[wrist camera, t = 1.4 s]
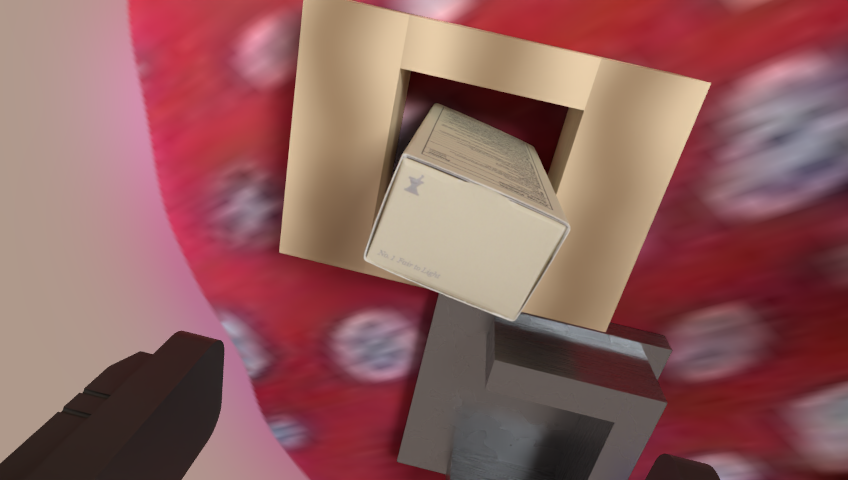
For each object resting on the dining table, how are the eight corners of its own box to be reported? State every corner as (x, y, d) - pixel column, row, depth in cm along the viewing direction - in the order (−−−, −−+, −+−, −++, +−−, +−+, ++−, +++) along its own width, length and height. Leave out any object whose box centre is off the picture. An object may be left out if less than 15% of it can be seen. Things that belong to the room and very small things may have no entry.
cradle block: (664, 335, 31) (700, 402, 26) (588, 493, 37) (604, 575, 31) (441, 281, 32) (430, 335, 26) (400, 445, 37) (384, 518, 32)
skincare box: (405, 170, 29) (351, 261, 18) (436, 97, 27) (396, 147, 16) (506, 214, 29) (513, 330, 18) (542, 144, 28) (575, 226, 16)
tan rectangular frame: (679, 74, 25) (710, 83, 22) (592, 295, 31) (605, 332, 27) (331, -5, 26) (304, -9, 22) (304, 225, 31) (279, 252, 28)
